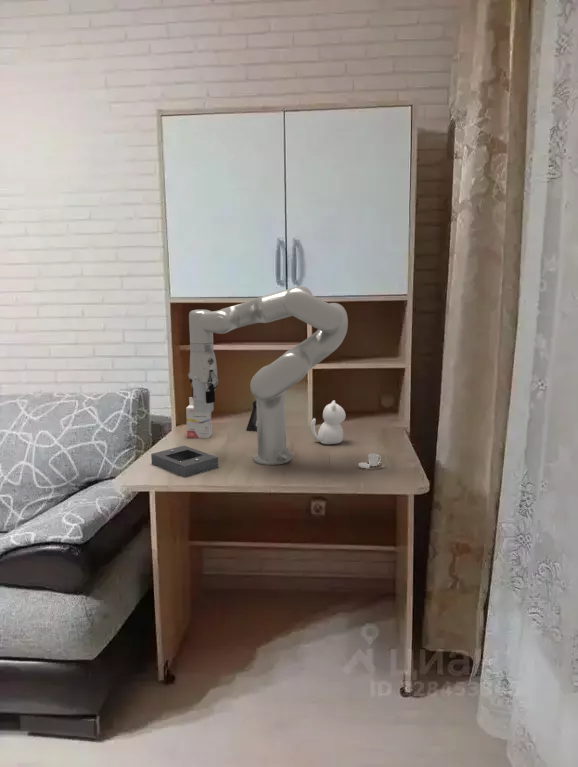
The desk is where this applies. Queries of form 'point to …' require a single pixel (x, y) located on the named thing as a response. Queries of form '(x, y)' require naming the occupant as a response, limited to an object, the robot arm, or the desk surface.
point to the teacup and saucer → (371, 461)
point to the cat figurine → (330, 425)
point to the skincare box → (201, 397)
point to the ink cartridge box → (197, 422)
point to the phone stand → (253, 418)
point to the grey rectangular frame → (184, 461)
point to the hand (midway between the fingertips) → (203, 400)
